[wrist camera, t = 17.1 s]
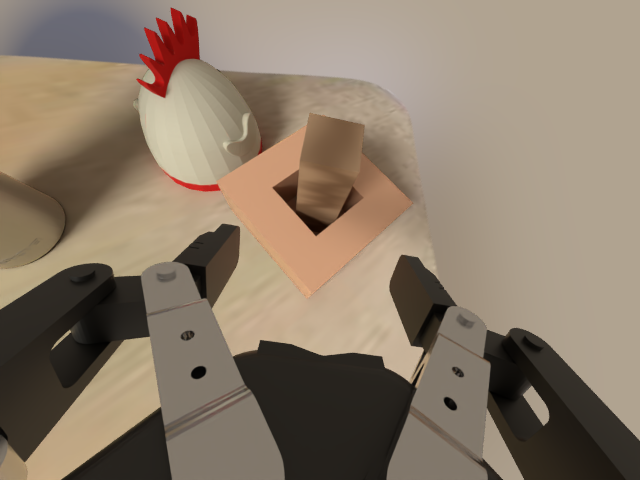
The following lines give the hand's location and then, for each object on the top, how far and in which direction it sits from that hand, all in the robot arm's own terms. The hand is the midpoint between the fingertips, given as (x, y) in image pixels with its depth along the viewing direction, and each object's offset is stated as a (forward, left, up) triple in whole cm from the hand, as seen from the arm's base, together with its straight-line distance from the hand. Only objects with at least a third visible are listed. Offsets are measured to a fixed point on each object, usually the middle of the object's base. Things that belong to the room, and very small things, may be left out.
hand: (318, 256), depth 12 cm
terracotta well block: (-6, +7, -18) cm, 21 cm away
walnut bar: (-6, +8, -17) cm, 20 cm away
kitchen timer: (-23, +3, -18) cm, 30 cm away
